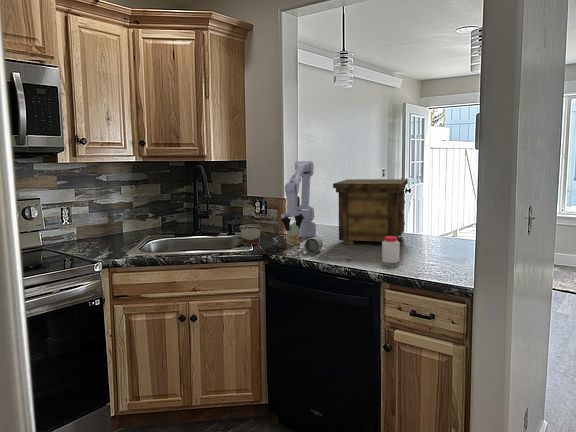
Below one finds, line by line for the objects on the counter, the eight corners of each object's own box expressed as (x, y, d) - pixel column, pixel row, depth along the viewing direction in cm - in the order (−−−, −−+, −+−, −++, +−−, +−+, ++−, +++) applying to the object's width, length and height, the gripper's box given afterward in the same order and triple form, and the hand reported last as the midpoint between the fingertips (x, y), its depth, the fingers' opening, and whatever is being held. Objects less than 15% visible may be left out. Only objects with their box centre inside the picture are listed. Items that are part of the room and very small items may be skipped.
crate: (347, 233, 288) (346, 179, 284) (407, 236, 277) (407, 179, 273) (333, 245, 255) (333, 183, 251) (401, 248, 244) (401, 183, 240)
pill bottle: (379, 259, 220) (379, 235, 219) (396, 258, 221) (396, 235, 219) (384, 263, 212) (384, 238, 211) (401, 262, 213) (402, 238, 212)
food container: (263, 241, 269) (263, 224, 268) (262, 243, 263) (261, 225, 262) (242, 241, 270) (241, 224, 269) (239, 243, 264) (239, 226, 263)
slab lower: (294, 243, 265) (293, 238, 264) (299, 244, 261) (299, 239, 260) (286, 244, 262) (286, 239, 261) (291, 245, 258) (291, 241, 257)
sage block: (293, 234, 264) (292, 225, 263) (298, 235, 260) (298, 226, 260) (286, 235, 261) (286, 226, 260) (292, 236, 258) (292, 227, 257)
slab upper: (293, 238, 264) (293, 234, 264) (299, 239, 260) (299, 235, 260) (286, 239, 261) (286, 235, 261) (292, 241, 257) (292, 236, 257)
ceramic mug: (323, 250, 242) (323, 235, 241) (319, 254, 235) (318, 238, 234) (303, 250, 246) (303, 235, 245) (298, 253, 238) (298, 238, 237)
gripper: (297, 203, 266) (297, 227, 268) (277, 205, 257) (277, 230, 259) (306, 204, 261) (306, 228, 263) (285, 206, 251) (286, 232, 253)
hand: (292, 230), depth 260 cm, fingers open, 7 cm apart
